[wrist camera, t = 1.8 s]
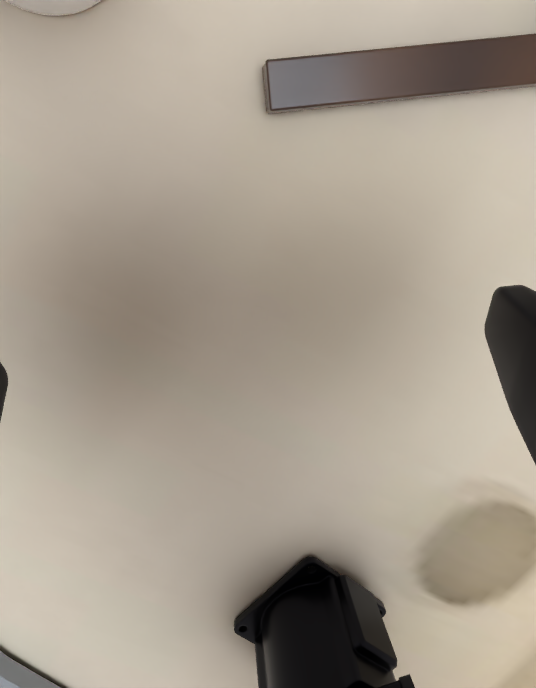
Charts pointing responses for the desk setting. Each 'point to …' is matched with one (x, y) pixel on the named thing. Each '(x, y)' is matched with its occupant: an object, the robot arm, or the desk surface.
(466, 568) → the desk surface
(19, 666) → the office telephone
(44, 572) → the desk surface
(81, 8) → the beer glass
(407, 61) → the frame
